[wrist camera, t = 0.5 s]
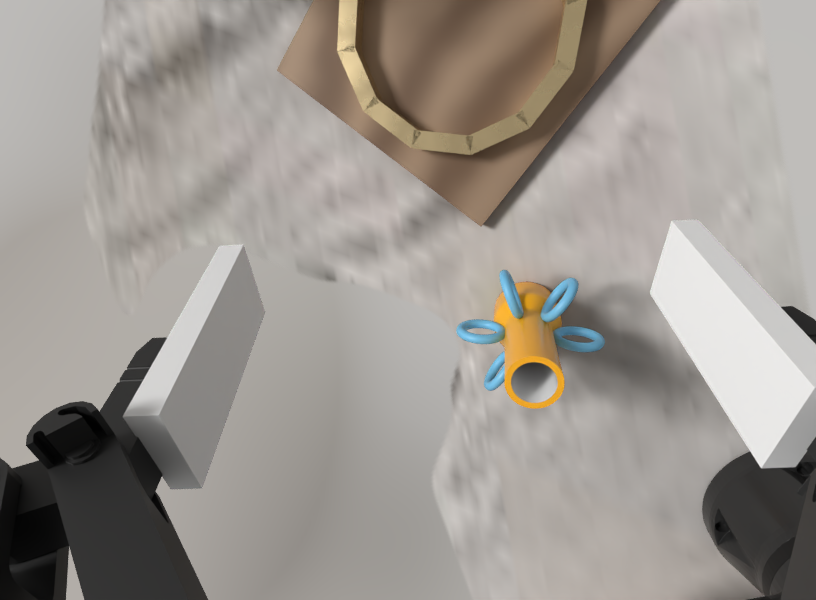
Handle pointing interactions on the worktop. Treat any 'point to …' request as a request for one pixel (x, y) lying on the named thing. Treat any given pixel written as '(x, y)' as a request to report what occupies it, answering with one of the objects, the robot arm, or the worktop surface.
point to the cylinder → (530, 340)
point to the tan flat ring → (446, 142)
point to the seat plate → (459, 79)
